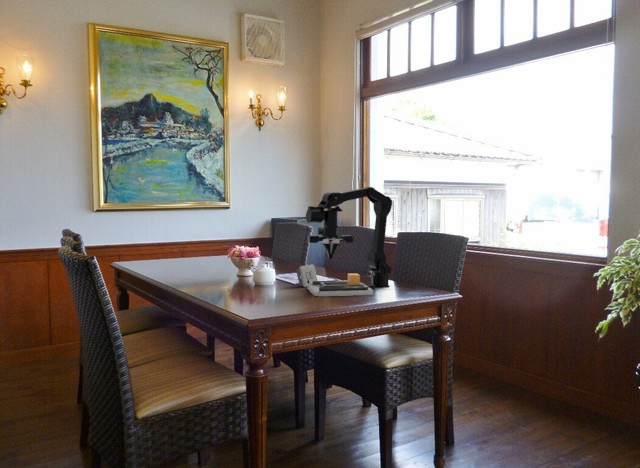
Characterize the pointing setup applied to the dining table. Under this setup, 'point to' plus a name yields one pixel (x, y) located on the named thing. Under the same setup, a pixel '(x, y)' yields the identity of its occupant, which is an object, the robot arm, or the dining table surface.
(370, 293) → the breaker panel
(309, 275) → the electrical switch
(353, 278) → the orange cube block
